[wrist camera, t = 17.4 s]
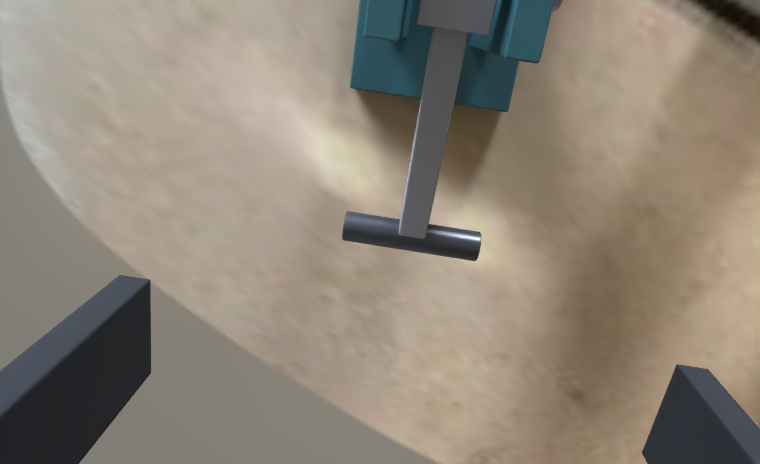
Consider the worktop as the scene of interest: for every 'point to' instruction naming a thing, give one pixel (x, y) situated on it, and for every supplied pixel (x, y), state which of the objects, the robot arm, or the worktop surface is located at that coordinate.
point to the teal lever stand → (481, 59)
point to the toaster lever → (431, 139)
